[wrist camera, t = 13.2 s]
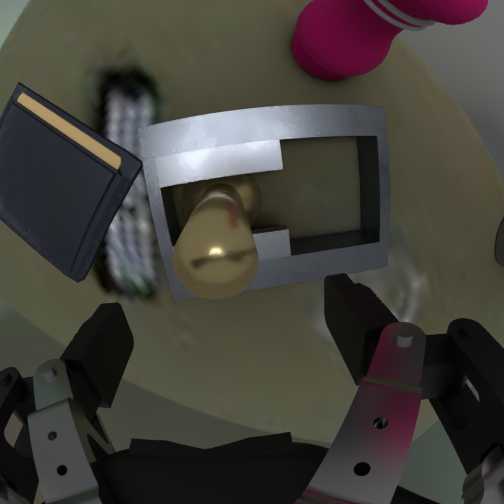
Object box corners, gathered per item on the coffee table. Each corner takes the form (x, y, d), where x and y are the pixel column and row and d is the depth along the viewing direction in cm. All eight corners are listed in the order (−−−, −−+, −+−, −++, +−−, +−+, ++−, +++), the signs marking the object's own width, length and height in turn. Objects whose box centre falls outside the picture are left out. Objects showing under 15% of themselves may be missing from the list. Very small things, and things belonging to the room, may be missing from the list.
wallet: (-31, 195, 19) (15, 75, 15) (-22, 192, 20) (24, 77, 17) (75, 295, 24) (145, 167, 21) (82, 286, 26) (150, 165, 23)
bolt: (253, 158, 23) (288, 169, 10) (262, 229, 25) (299, 316, 12) (179, 169, 22) (120, 196, 10) (191, 240, 25) (160, 335, 12)
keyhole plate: (363, 110, 22) (384, 106, 18) (369, 251, 27) (387, 266, 23) (151, 131, 21) (137, 128, 17) (180, 280, 26) (173, 300, 23)
